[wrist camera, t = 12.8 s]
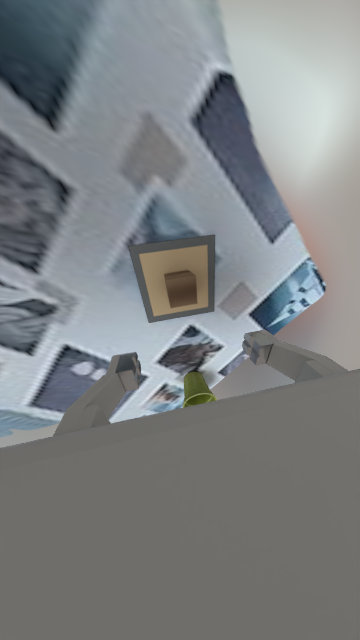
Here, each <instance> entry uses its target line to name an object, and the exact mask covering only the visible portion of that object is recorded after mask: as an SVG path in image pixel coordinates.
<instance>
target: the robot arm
mask: <svg viewBox="0 0 360 640" xmlns="http://www.w3.org/2000/svg"><path fill="white" fill-rule="evenodd" d="M244 339H245V340H244V341H243V344H242V347H243V350H244V352H245V353H246V354H247V355H249V356H250V359H251V360H252V362H253V363H254V364H255V365H260V364H266V363H267V365H269V366H271V367H273V368H275V369H276V370H278V371H279V372H281V373H283V374H284V375H286V376H288V377H290V378H291V379H293V380H295V383H293V384H289V385H284V386H279V387H275V388H271V389H266V390H261V391H257V392H253V393H248V394H243V395H239V396H234V397H230V398H225V399H221V400H216V401H212V402H207V403H202V404H198V405H193V406H189V407H184V408H180V409H175V410H171V411H166V412H162V413H157V414H153V415H148V416H143V417H139V418H134V419H130V420H125V421H121V422H116V423H112V424H111V423H110V422H109V421H108V418H109V417H110V415H111V414H112V412H113V411H114V409H115V408H116V406H117V405H118V403H119V402H120V400H121V399H122V397H123V396H124V394H125V393H126V391H130V390H134V389H139V384H140V378H139V375H140V374H141V366H140V361H139V360H137V358H138V355H137V353H136V352H133V353H126V354H121V355H114V356H113V357H112V359H111V362H110V365H109V367H108V370H107V373H106V375H103V376H102V377H101V378H100V379H99V380H98V381H97V382H96V383H95V384H94V385H93V386H91V387H90V388H89V389H88V390H87V391H86V392H85V393H84V394H83V395H82V396H81V397H80V398H79V399H78V400H76V401H75V402H74V403H73V404H72V405H71V406H70V407H69V408H68V409H67V410H66V412H65V414H64V416H63V418H62V420H61V422H60V424H59V426H58V427H57V429H56V431H55V433H54V435H53V437H48V438H44V439H39V440H34V441H30V442H26V443H21V444H16V445H12V446H7V447H3V448H0V640H360V369H357V370H352V371H347V370H346V369H345V368H343V367H342V366H340V365H338V364H337V363H336V362H334V361H333V360H331V359H330V358H328V357H326V356H323V355H320V354H317V353H314V352H312V351H309V350H306V349H303V348H300V347H297V346H294V345H291V344H288V343H285V342H283V343H282V342H281V341H279V340H278V339H277V338H276V337H274V336H273V335H272V334H270V333H269V332H268V331H267V330H260V331H255V332H250V333H245V335H244Z"/></svg>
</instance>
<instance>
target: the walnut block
mask: <svg viewBox="0 0 360 640" xmlns="http://www.w3.org/2000/svg"><path fill="white" fill-rule="evenodd" d="M164 277H165V283H166V289H167V295H168V299H169V304H170V308H175V307H181V306H187V305H192V304H198V302H197V285H196V275H194V274H193V273H192V272H190V271H189V270H185V271H179V272H172V273H166V274H164Z"/></svg>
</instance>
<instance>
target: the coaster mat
mask: <svg viewBox="0 0 360 640" xmlns="http://www.w3.org/2000/svg"><path fill="white" fill-rule="evenodd" d="M128 247H129V251H130V255H131V258H132V262H133V266H134V269H135V273H136V277H137V281H138V284H139V288H140V292H141V296H142V299H143V303H144V307H145V311H146V314H147V318H148V322H149V323H152V322H157V321H163V320H168V319H174V318H180V317H185V316H191V315H196V314H202V313H207V312H213V311H214V280H215V235H209V236H201V237H193V238H186V239H178V240H171V241H163V242H155V243H148V244H140V245H133V246H128ZM185 270H189V271H190V272H192V273H193V274H194V275H196V285H197V302H198V304H192V305H187V306H181V307H175V308H170V304H169V299H168V295H167V289H166V283H165V277H164V274H166V273H172V272H179V271H185Z"/></svg>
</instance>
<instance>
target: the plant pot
mask: <svg viewBox="0 0 360 640" xmlns="http://www.w3.org/2000/svg"><path fill="white" fill-rule="evenodd" d="M184 394H185V398H184V403H183V408H184V407H189V406H193V405H198V404H202V403H207V402H212V401H216V400H217V399H216V397H215V396H214V395H213V394H212V392H211V391H210V390H209V388H208V386H207V384H206V382H205V380H204V378H203V376H202V374H201V373H198V372H190V373H188V374H187V375H186V376H185V378H184Z"/></svg>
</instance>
